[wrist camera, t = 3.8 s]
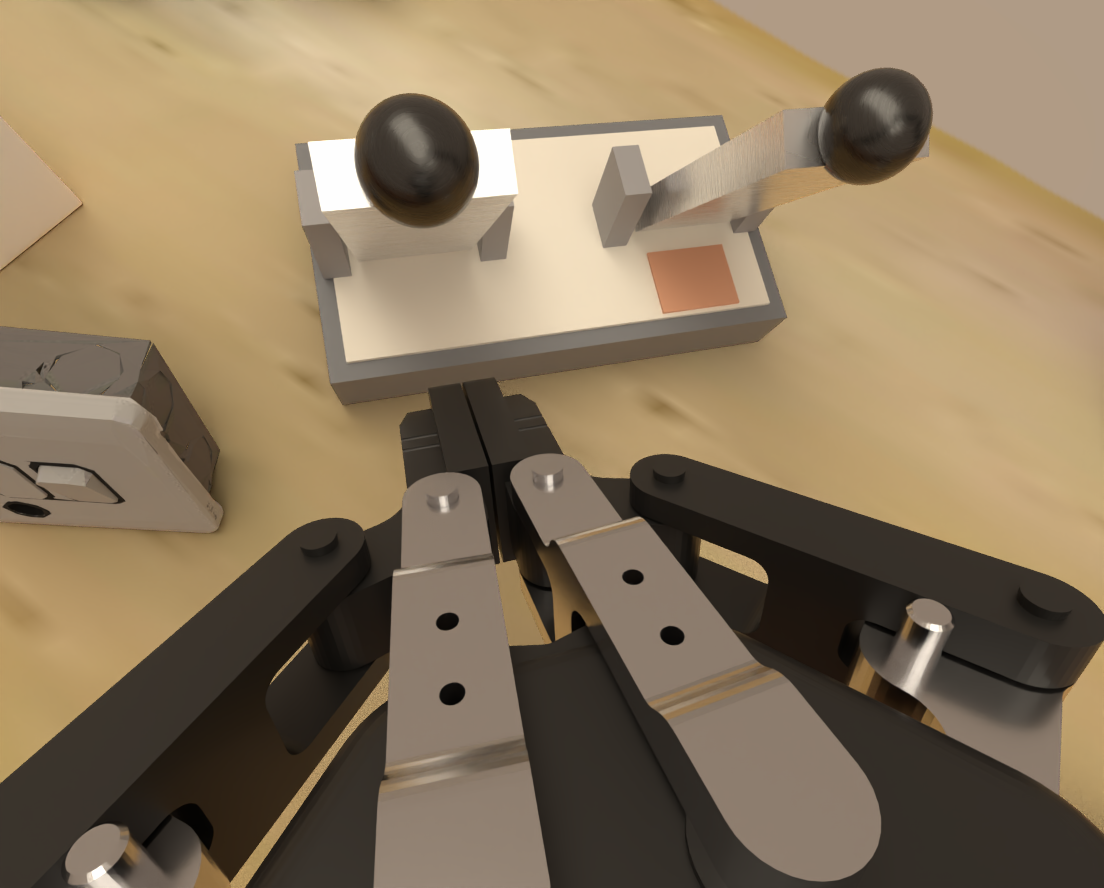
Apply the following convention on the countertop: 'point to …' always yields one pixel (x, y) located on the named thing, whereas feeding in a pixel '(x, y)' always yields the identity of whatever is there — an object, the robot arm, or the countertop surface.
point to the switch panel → (547, 272)
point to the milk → (27, 196)
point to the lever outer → (414, 180)
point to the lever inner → (801, 154)
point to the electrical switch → (100, 436)
